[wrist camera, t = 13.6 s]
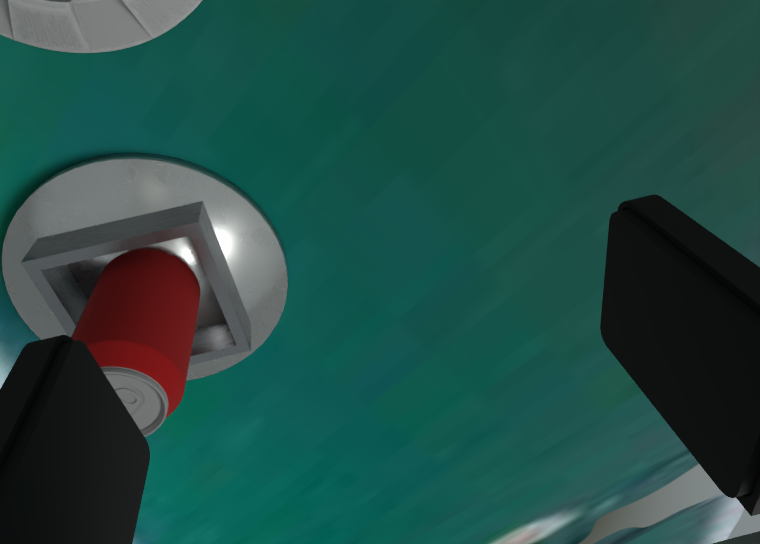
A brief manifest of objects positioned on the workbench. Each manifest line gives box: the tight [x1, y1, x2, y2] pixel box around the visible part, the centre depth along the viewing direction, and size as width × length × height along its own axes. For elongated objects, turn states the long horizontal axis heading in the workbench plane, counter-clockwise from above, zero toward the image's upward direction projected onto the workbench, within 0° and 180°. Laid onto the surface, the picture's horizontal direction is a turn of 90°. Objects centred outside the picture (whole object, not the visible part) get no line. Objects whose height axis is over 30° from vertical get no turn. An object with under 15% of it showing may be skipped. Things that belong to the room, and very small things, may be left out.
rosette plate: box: [2, 153, 288, 381], centre depth 39 cm, size 19×19×4 cm
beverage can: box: [71, 250, 200, 437], centre depth 34 cm, size 7×7×12 cm
